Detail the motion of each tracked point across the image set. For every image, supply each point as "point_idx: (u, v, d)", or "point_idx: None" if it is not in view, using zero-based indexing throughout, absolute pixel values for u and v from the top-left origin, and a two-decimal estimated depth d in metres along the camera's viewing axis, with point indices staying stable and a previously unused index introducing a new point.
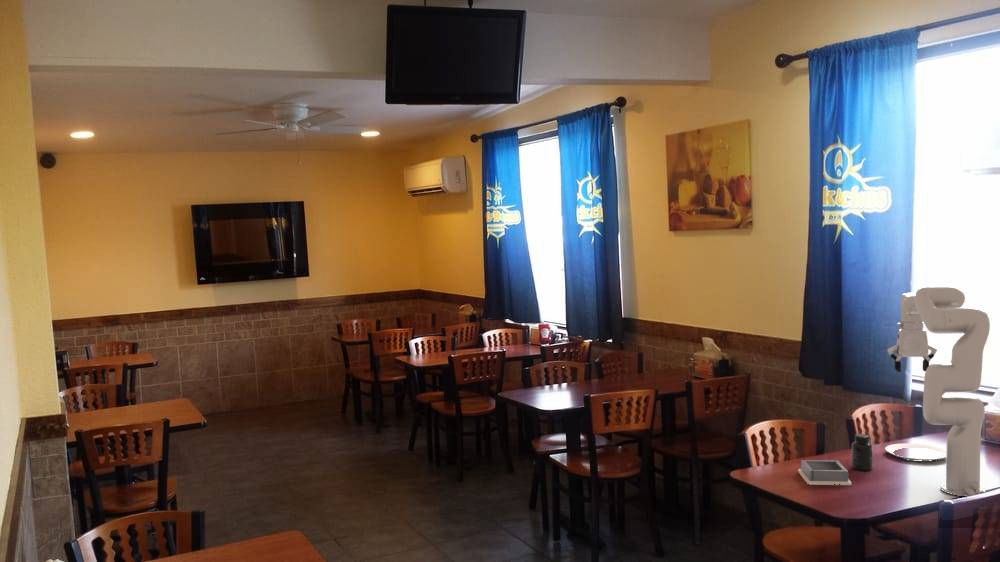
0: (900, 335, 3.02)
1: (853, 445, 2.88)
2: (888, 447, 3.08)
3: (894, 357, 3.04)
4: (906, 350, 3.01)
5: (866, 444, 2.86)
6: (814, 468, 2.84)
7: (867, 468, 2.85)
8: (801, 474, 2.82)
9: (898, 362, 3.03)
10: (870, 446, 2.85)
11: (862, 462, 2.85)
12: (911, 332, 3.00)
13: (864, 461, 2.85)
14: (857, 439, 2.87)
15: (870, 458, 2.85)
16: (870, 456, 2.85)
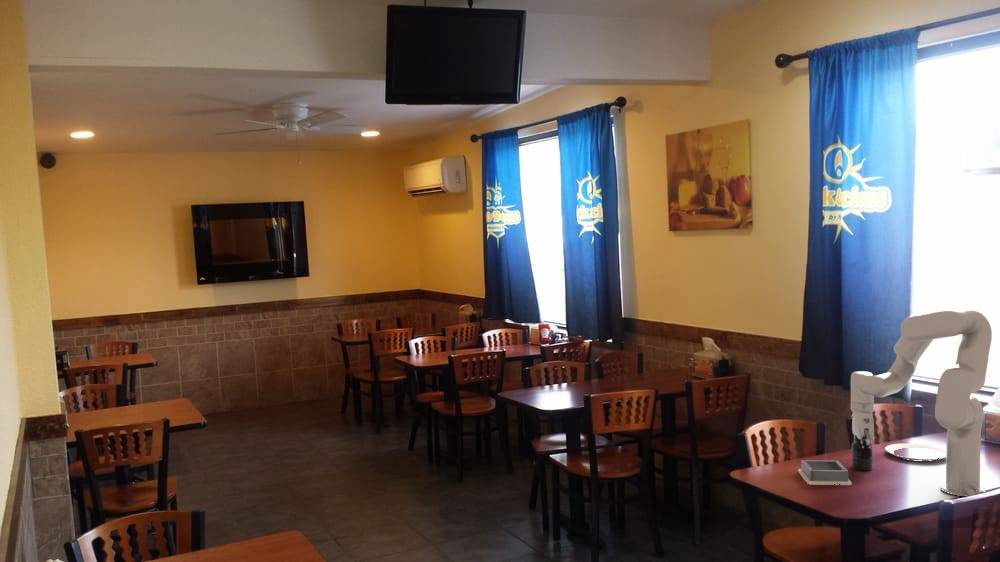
0: (870, 418, 2.82)
1: (853, 445, 2.88)
2: (888, 447, 3.08)
3: None
4: None
5: None
6: (814, 468, 2.84)
7: (867, 468, 2.85)
8: (801, 474, 2.82)
9: (869, 449, 2.84)
10: None
11: (862, 462, 2.85)
12: None
13: (864, 461, 2.85)
14: (857, 439, 2.87)
15: (870, 458, 2.85)
16: (870, 456, 2.85)
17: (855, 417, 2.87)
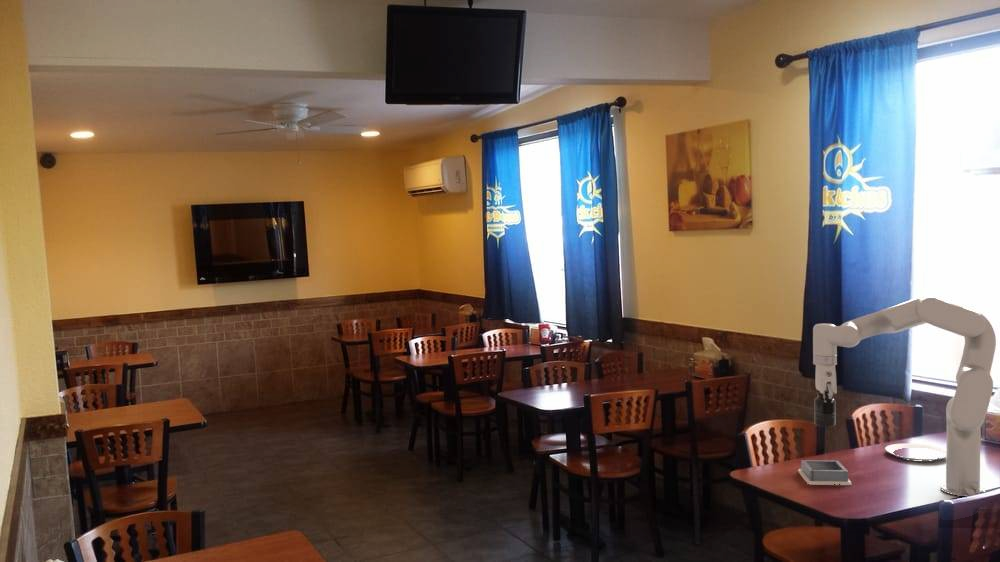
0: (833, 371, 2.72)
1: (815, 400, 2.77)
2: (888, 447, 3.08)
3: None
4: None
5: None
6: (814, 468, 2.84)
7: (830, 424, 2.74)
8: (801, 474, 2.82)
9: (831, 403, 2.73)
10: (833, 401, 2.74)
11: (824, 417, 2.74)
12: None
13: (827, 416, 2.74)
14: (819, 394, 2.76)
15: (833, 413, 2.74)
16: (833, 411, 2.74)
17: (817, 371, 2.76)
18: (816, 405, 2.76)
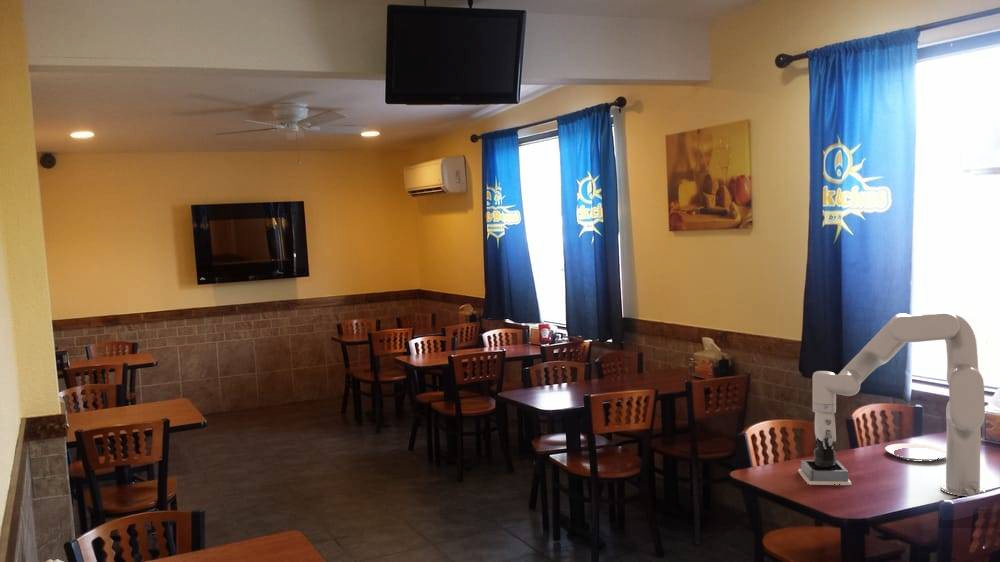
0: (832, 420, 2.73)
1: (815, 451, 2.78)
2: (888, 447, 3.08)
3: None
4: None
5: None
6: None
7: None
8: (801, 474, 2.82)
9: (831, 450, 2.73)
10: None
11: (824, 469, 2.75)
12: None
13: (827, 468, 2.75)
14: (819, 445, 2.77)
15: (833, 465, 2.76)
16: (832, 463, 2.76)
17: (817, 418, 2.77)
18: (816, 456, 2.77)
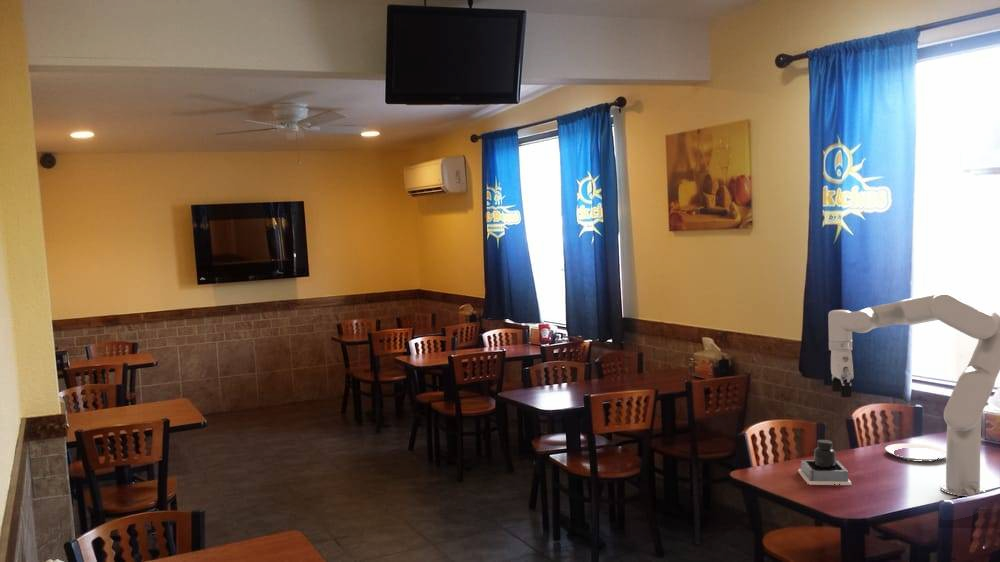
0: (849, 356, 2.76)
1: (815, 451, 2.78)
2: (888, 447, 3.08)
3: None
4: None
5: (828, 450, 2.76)
6: None
7: None
8: (801, 474, 2.82)
9: (849, 386, 2.76)
10: (833, 452, 2.76)
11: (824, 469, 2.75)
12: None
13: (827, 468, 2.75)
14: (819, 445, 2.77)
15: (833, 465, 2.76)
16: (833, 463, 2.76)
17: (834, 356, 2.80)
18: (816, 456, 2.77)
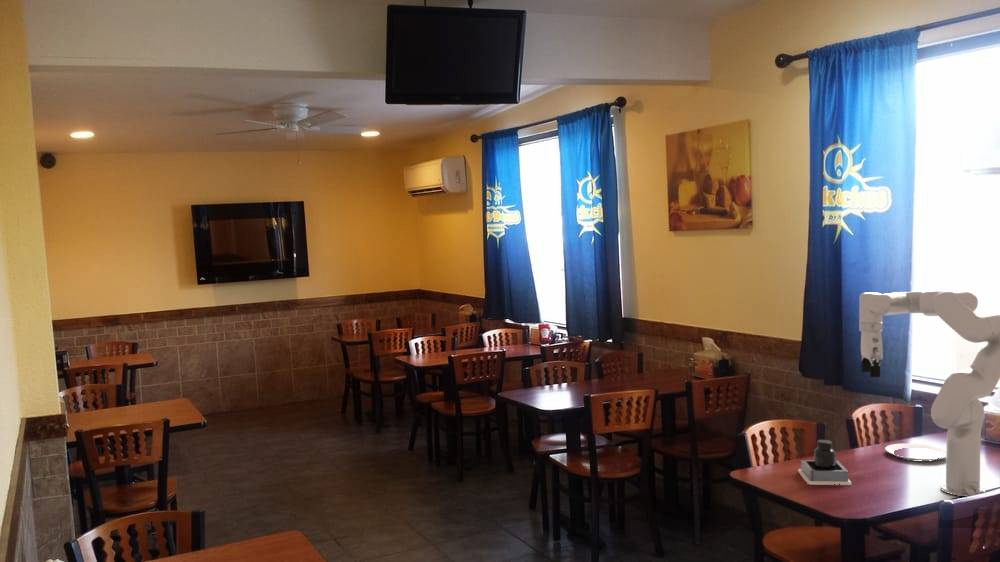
0: (879, 337, 2.84)
1: (815, 451, 2.78)
2: (888, 447, 3.08)
3: None
4: None
5: (828, 450, 2.76)
6: None
7: None
8: (801, 474, 2.82)
9: (878, 367, 2.84)
10: (833, 452, 2.76)
11: (824, 469, 2.75)
12: None
13: (827, 468, 2.75)
14: (819, 445, 2.77)
15: (833, 465, 2.76)
16: (833, 463, 2.76)
17: (864, 337, 2.88)
18: (816, 456, 2.77)
